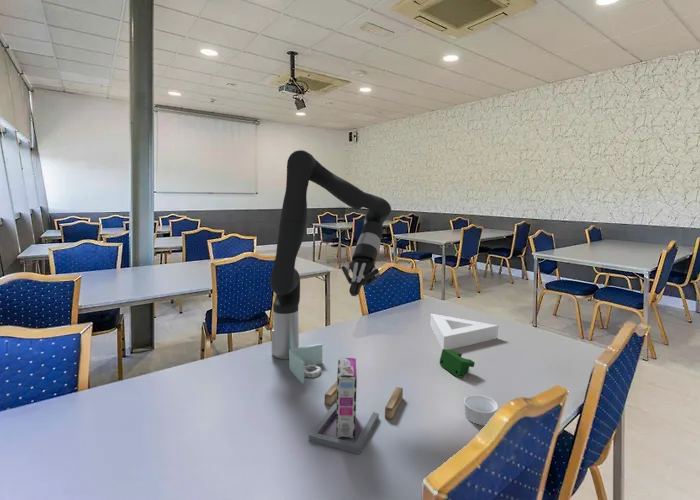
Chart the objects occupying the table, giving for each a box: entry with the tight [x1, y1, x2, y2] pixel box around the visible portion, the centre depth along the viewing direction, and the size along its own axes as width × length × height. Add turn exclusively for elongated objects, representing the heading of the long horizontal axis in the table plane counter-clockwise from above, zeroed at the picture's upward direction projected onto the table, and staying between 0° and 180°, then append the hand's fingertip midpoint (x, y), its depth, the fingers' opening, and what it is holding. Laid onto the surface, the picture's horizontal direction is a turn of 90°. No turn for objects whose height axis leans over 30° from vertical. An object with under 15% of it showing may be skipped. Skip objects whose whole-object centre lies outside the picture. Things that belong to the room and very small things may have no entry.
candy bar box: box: [335, 357, 358, 440], centre depth 97 cm, size 11×5×16 cm, turn 0°
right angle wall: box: [288, 343, 323, 384], centre depth 128 cm, size 12×12×8 cm
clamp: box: [439, 349, 475, 378], centre depth 131 cm, size 12×6×9 cm, turn 15°
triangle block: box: [429, 313, 499, 350], centre depth 158 cm, size 30×26×6 cm
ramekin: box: [463, 394, 499, 427], centre depth 103 cm, size 9×9×4 cm
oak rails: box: [324, 380, 404, 420], centre depth 110 cm, size 20×12×3 cm, turn 69°
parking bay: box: [308, 403, 380, 455], centre depth 97 cm, size 13×16×2 cm
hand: (353, 294), depth 114 cm, fingers closed
